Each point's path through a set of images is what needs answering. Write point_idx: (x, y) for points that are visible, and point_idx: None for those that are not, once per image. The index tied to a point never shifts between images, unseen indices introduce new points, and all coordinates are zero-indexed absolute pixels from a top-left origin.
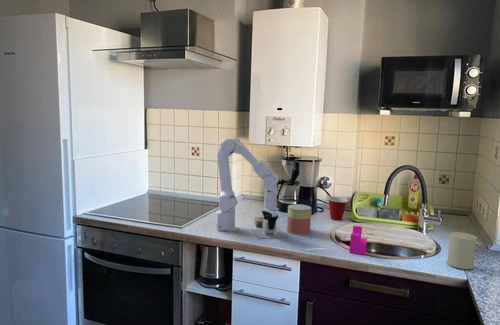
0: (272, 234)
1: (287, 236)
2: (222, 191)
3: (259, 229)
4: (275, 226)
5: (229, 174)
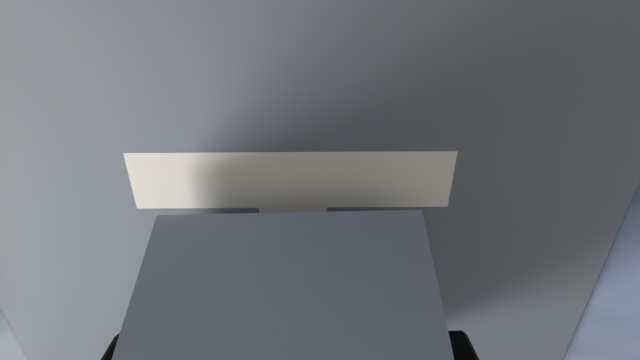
0: None
1: None
2: None
3: (74, 356)
4: (446, 348)
5: None
